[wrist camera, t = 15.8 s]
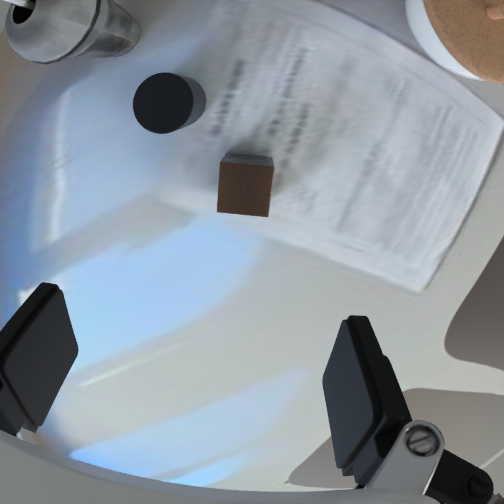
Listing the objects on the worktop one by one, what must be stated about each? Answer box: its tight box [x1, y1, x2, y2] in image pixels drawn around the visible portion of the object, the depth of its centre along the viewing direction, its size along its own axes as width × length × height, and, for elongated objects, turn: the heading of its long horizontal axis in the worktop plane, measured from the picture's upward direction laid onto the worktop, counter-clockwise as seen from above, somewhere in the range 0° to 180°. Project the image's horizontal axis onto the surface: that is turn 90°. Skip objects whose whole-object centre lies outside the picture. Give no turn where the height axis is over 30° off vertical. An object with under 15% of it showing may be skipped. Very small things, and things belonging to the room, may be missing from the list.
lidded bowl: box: [405, 0, 504, 84], centre depth 18 cm, size 13×13×11 cm
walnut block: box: [217, 153, 274, 217], centre depth 29 cm, size 4×4×4 cm
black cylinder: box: [133, 73, 206, 134], centre depth 25 cm, size 5×5×6 cm
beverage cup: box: [4, 0, 140, 64], centre depth 16 cm, size 7×7×20 cm
